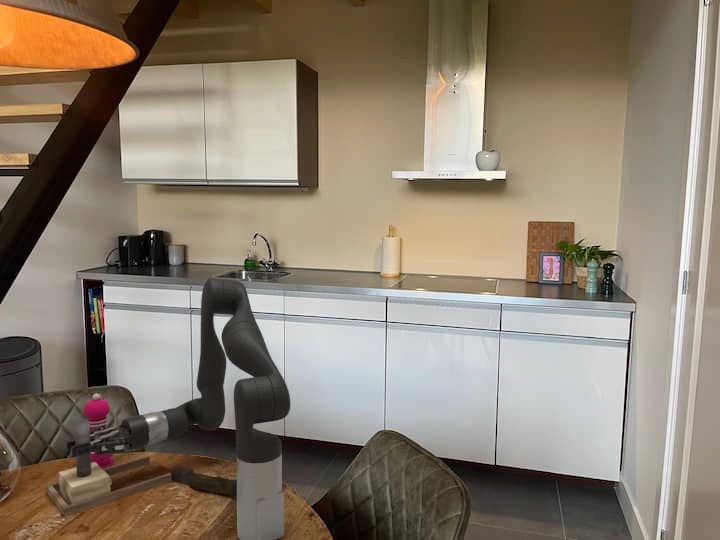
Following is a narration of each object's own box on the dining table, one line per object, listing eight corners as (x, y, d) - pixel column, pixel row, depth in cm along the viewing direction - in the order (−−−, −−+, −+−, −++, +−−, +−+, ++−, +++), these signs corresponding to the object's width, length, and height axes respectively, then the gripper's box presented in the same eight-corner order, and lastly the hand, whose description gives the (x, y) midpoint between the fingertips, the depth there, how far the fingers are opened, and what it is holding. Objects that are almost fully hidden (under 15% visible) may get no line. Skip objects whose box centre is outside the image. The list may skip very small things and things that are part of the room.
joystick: (112, 496, 131) (109, 425, 129) (73, 509, 126) (69, 435, 124) (96, 481, 139) (94, 413, 137) (59, 492, 133) (56, 422, 131)
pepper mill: (119, 463, 151) (117, 389, 149) (104, 476, 144) (101, 399, 141) (93, 462, 152) (90, 388, 149) (77, 474, 144) (74, 397, 142)
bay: (171, 486, 139) (171, 474, 139) (65, 522, 123) (64, 509, 123) (148, 466, 149) (148, 455, 149) (46, 497, 133) (46, 485, 133)
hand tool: (242, 493, 137) (242, 474, 136) (233, 501, 133) (233, 481, 132) (177, 479, 143) (176, 461, 143) (166, 486, 139) (166, 468, 139)
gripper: (133, 407, 145) (58, 424, 133) (156, 423, 135) (78, 443, 123) (134, 435, 146) (60, 455, 134) (157, 453, 136) (79, 476, 124)
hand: (69, 449), depth 129 cm, fingers closed on joystick, 3 cm apart
